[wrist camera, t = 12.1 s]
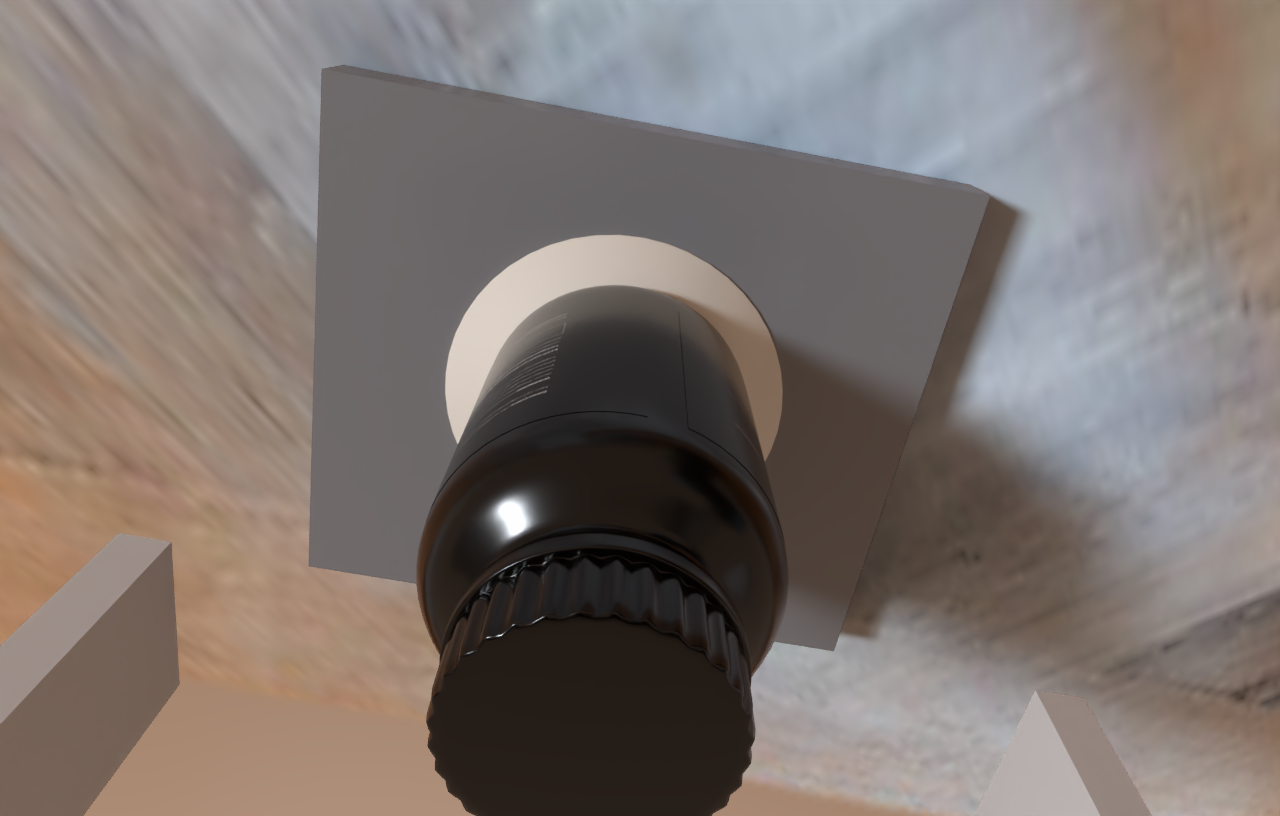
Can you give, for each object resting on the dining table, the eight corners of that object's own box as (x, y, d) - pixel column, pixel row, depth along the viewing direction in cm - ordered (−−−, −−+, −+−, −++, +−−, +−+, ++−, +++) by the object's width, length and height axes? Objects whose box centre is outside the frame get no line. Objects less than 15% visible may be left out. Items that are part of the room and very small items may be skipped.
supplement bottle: (525, 527, 25) (419, 925, 14) (462, 302, 22) (270, 582, 11) (764, 492, 24) (844, 882, 14) (729, 255, 22) (795, 506, 11)
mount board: (970, 184, 22) (991, 197, 21) (825, 619, 28) (834, 653, 27) (343, 65, 22) (320, 69, 20) (326, 538, 27) (307, 568, 26)
